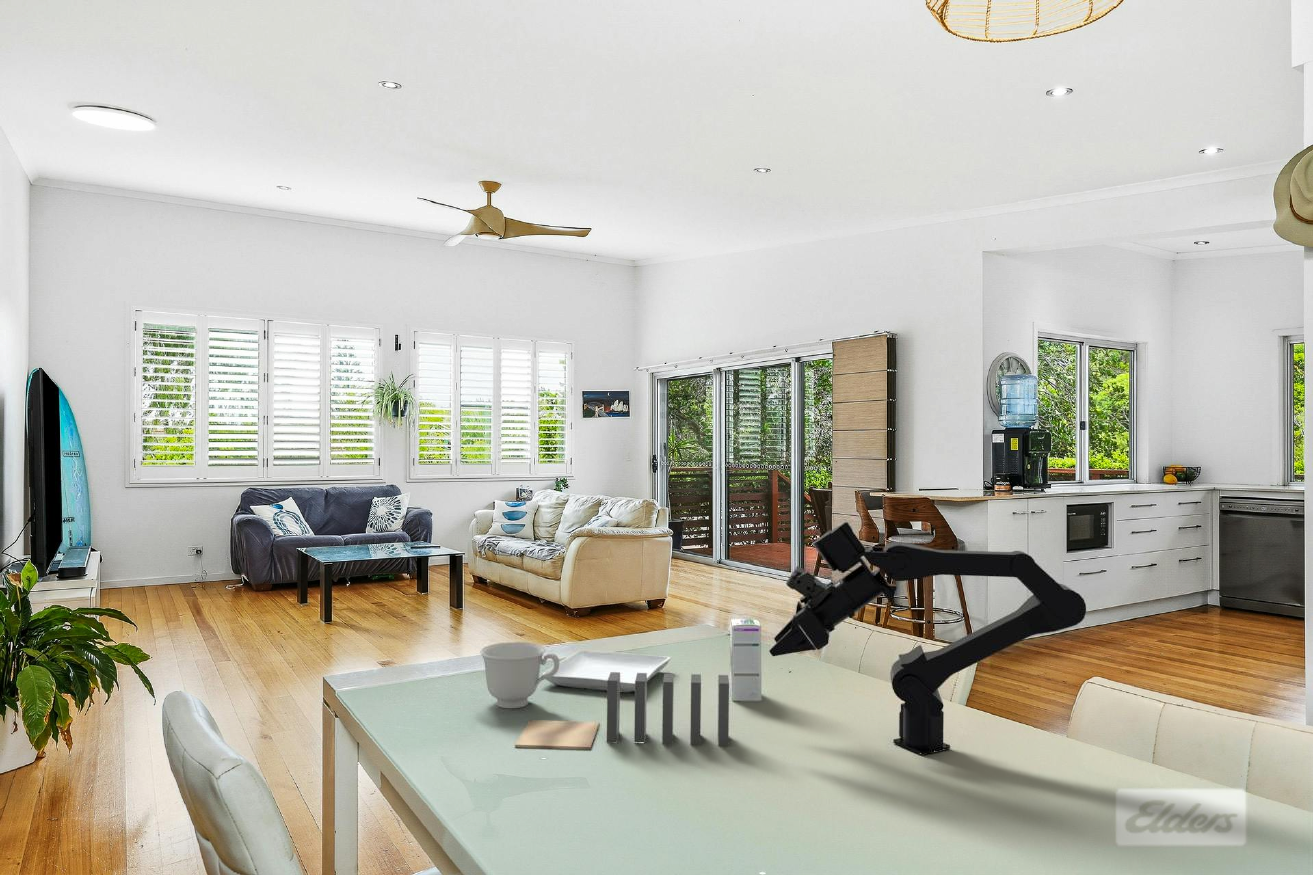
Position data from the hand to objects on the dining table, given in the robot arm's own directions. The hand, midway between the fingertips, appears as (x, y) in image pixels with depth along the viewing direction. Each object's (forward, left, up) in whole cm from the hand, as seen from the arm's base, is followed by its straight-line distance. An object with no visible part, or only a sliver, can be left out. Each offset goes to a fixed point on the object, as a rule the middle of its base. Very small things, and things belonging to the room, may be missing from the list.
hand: (773, 647), depth 142 cm
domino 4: (+3, +13, -14) cm, 20 cm away
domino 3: (+6, +17, -14) cm, 23 cm away
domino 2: (+8, +21, -14) cm, 27 cm away
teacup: (+34, +32, -15) cm, 49 cm away
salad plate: (+42, +10, -15) cm, 46 cm away
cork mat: (+15, +32, -14) cm, 38 cm away
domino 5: (+1, +9, -14) cm, 17 cm away
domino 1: (+11, +25, -14) cm, 30 cm away
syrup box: (+19, -8, -15) cm, 25 cm away
